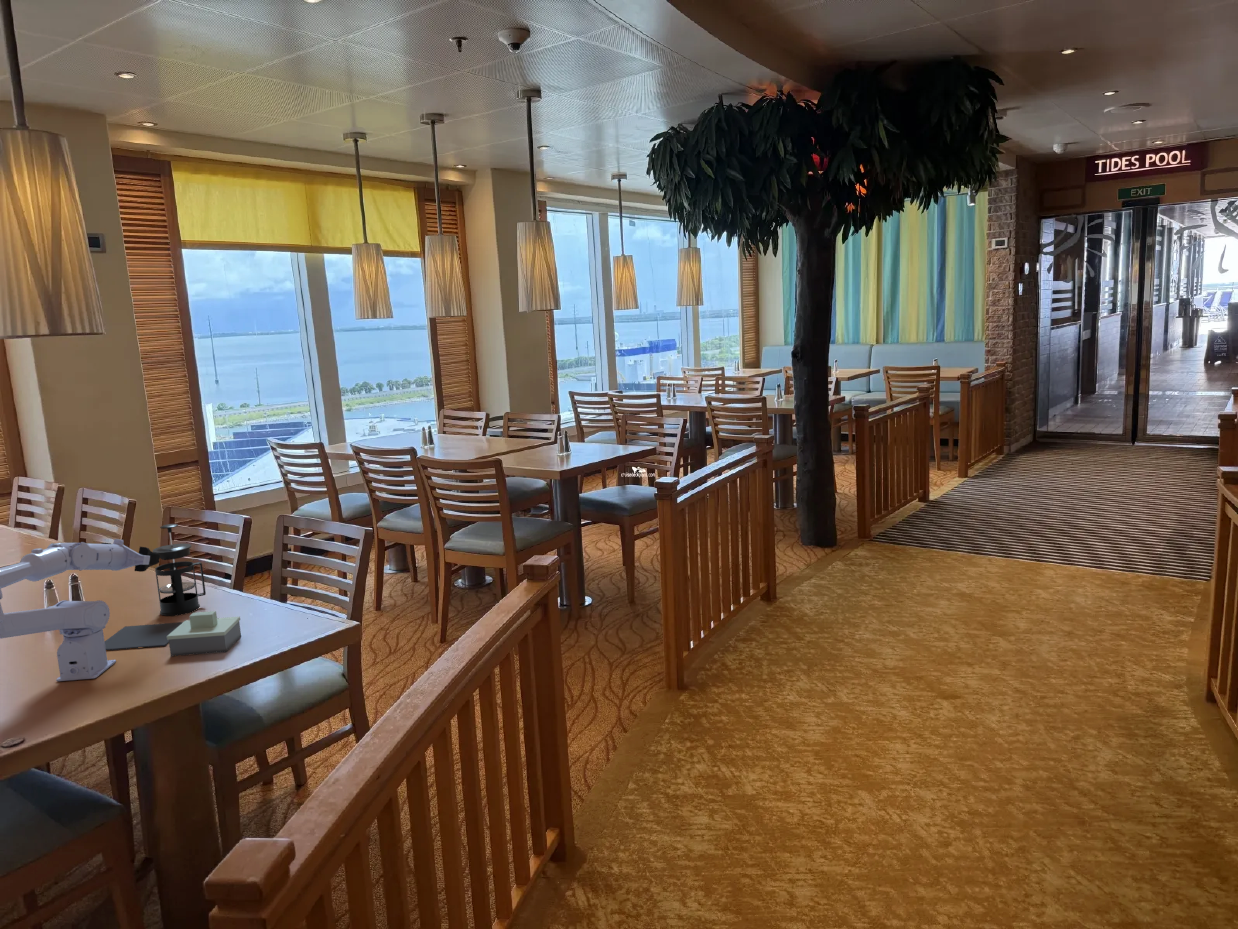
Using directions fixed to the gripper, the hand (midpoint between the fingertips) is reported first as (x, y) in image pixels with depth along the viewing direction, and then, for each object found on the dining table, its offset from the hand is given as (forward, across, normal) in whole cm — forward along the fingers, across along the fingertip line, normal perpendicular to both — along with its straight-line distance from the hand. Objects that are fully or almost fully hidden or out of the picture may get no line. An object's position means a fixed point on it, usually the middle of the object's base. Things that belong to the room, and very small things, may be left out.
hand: (143, 557), depth 202 cm
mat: (+5, 0, +19) cm, 20 cm away
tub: (0, -20, +18) cm, 27 cm away
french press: (+24, +5, +14) cm, 28 cm away
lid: (-1, -20, +15) cm, 25 cm away
